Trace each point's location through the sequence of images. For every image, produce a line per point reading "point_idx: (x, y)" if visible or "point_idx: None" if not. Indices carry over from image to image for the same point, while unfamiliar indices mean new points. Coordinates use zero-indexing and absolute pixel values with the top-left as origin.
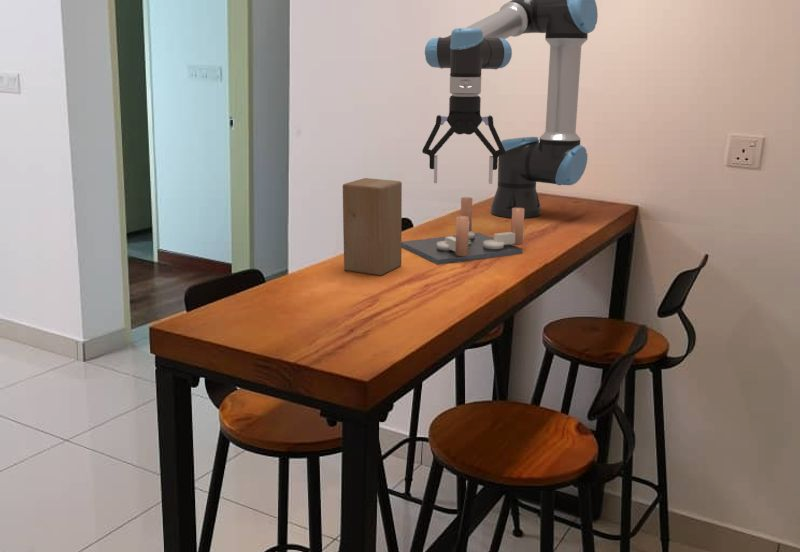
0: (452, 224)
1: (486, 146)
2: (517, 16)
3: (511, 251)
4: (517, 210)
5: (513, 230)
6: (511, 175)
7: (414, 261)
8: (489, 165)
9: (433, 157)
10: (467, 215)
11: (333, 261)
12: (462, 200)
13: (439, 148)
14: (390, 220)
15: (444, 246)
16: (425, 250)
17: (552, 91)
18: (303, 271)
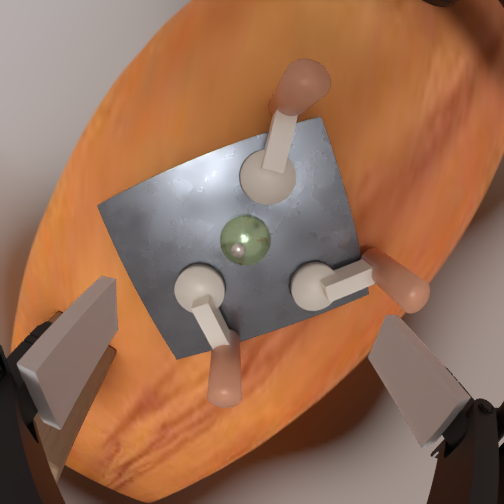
0: None
1: (430, 500)
2: None
3: (342, 303)
4: (406, 311)
5: (375, 281)
6: None
7: (135, 327)
8: (416, 391)
9: (36, 404)
10: (294, 112)
11: (23, 303)
12: (287, 89)
13: (51, 478)
14: (77, 432)
15: (191, 311)
16: (151, 293)
17: None
18: (13, 342)
